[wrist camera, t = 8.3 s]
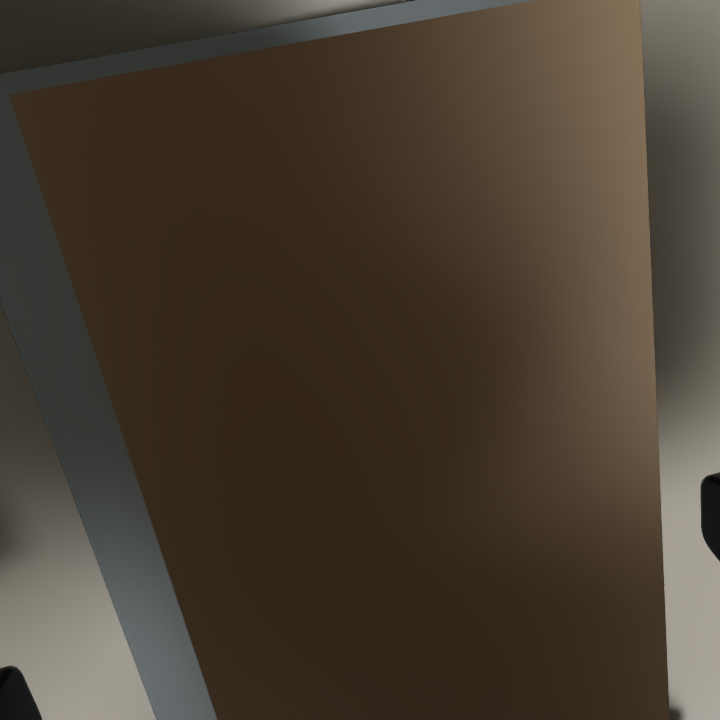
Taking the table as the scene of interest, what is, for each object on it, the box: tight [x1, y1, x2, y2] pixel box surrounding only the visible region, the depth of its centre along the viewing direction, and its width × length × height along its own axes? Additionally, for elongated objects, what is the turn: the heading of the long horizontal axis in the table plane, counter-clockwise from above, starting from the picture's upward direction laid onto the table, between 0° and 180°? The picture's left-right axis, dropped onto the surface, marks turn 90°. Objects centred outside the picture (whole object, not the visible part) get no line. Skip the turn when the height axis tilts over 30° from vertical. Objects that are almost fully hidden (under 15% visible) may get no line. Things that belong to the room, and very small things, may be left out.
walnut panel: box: [9, 0, 669, 720], centre depth 8 cm, size 3×12×6 cm, turn 10°
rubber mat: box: [0, 0, 532, 720], centre depth 11 cm, size 8×14×1 cm, turn 11°
